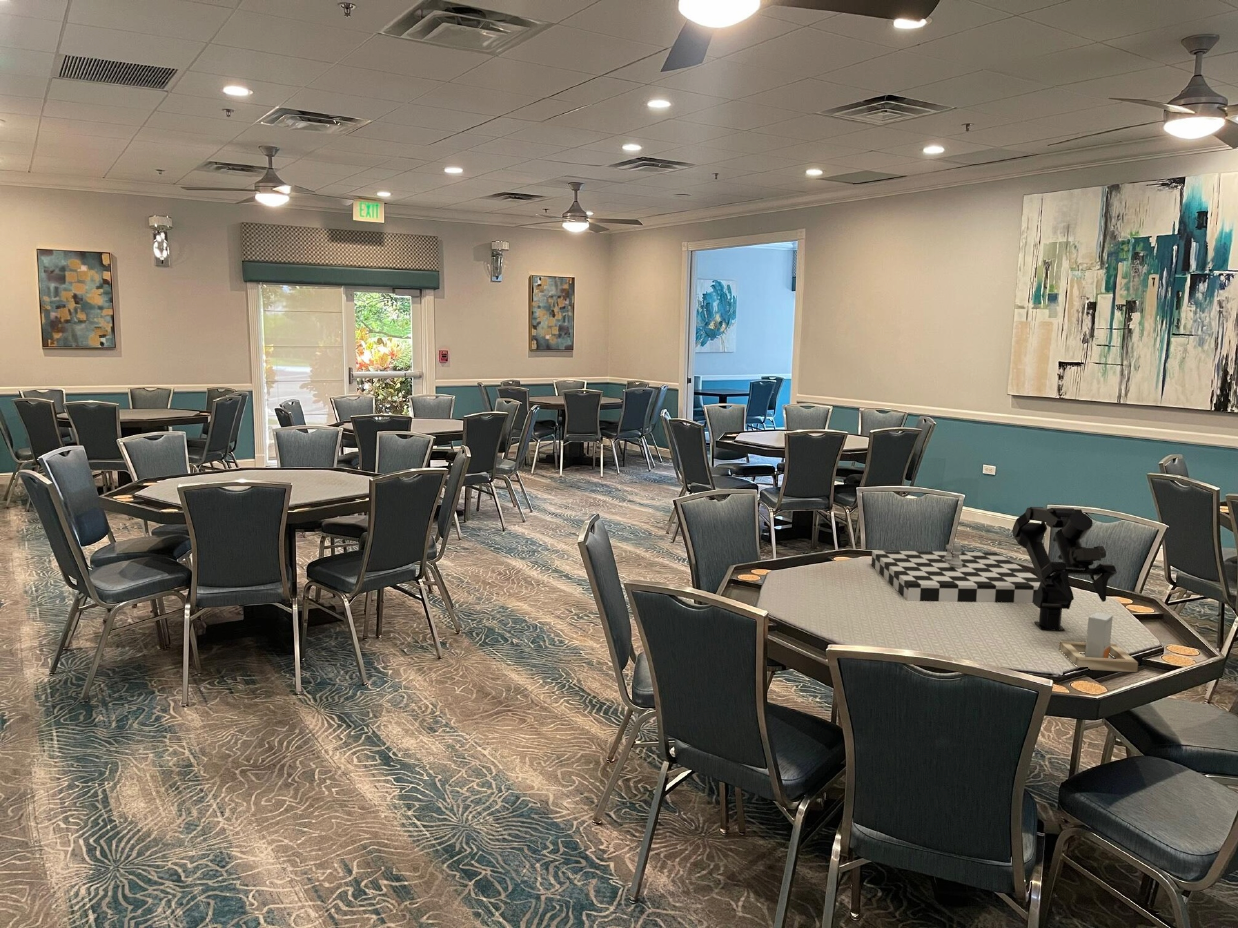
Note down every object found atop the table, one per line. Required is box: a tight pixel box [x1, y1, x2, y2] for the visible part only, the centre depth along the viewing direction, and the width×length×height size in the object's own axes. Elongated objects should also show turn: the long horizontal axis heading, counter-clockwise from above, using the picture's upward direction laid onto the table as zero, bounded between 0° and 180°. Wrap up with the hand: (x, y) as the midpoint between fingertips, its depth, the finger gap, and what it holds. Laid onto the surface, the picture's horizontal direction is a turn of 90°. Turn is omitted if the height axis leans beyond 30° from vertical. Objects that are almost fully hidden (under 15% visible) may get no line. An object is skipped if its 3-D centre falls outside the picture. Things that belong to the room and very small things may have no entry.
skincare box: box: [1084, 611, 1114, 658], centre depth 234 cm, size 6×4×12 cm
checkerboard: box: [871, 541, 1040, 604], centre depth 307 cm, size 45×45×15 cm
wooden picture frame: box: [1058, 640, 1139, 673], centre depth 234 cm, size 14×14×2 cm
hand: (1088, 600), depth 240 cm, fingers open, 9 cm apart
